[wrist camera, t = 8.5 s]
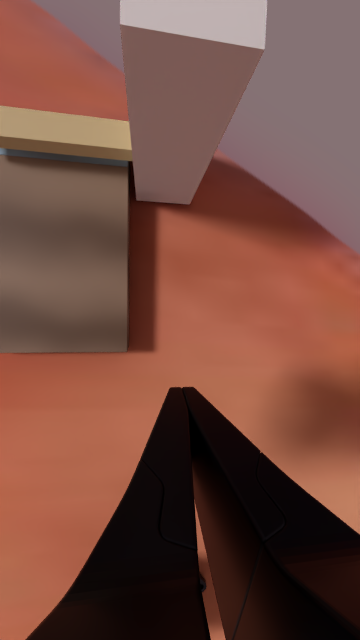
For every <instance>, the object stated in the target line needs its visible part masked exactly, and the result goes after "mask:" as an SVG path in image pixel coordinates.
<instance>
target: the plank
mask: <svg viewBox="0 0 360 640" xmlns="http://www.w3.org/2000/svg"><path fill="white" fill-rule="evenodd" d="M129 220H130V161H125V160H115V159H105V158H95V157H85V156H75V155H65V154H55V153H45V152H35V151H25V150H15V149H5V148H0V353H39V352H127V350H128V347H129Z"/></svg>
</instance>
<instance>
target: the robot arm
mask: <svg viewBox="0 0 360 640" xmlns="http://www.w3.org/2000/svg"><path fill="white" fill-rule="evenodd" d="M194 500H195V503H194ZM195 504H196V508H197V513H198V517H199V522H200V526H201V531H202V535H203V540H204V544H205V549H206V553H207V558H208V562H209V567H210V571H211V576H212V580H213V585H214V589H215V594H216V598H217V603H218V607H219V611H220V616H221V620H222V625H223V629H224V634H225V638H226V640H360V534H358V533H357V532H356V531H354V530H353V529H352V528H351V527H349V526H348V525H347V524H346V523H345V522H343V521H342V520H341V519H340V518H338V517H337V516H336V515H335V514H333V513H332V512H331V511H330V510H328V509H327V508H326V507H325V506H323V505H322V504H321V503H320V502H319V501H317V500H316V499H315V498H314V497H312V496H311V495H310V494H309V493H307V492H306V491H305V490H304V489H303V488H301V487H300V486H299V485H298V484H297V483H295V482H294V481H293V480H292V479H291V478H289V477H288V476H287V475H286V474H285V473H284V472H283V471H282V470H281V469H279V468H278V467H277V466H276V465H275V464H274V463H273V462H272V461H271V460H270V459H269V458H268V457H267V456H265V455H264V454H263V453H262V452H261V453H260V450H259V449H258V448H257V447H256V446H255V445H254V444H253V443H252V442H251V441H250V440H249V439H248V438H246V437H245V436H244V435H243V434H242V433H241V432H240V431H239V430H238V429H237V428H236V427H235V426H234V425H233V424H232V423H231V422H230V421H229V420H228V419H227V418H226V417H224V416H223V415H222V414H221V413H220V412H219V411H218V410H217V409H216V408H215V407H214V406H213V405H212V404H211V403H210V402H209V401H208V400H207V399H206V398H205V397H204V396H203V395H201V394H200V393H199V392H198V391H197V390H196V389H195V388H194V387H183V388H181V387H171V388H170V389H169V391H168V393H167V396H166V398H165V401H164V403H163V405H162V408H161V410H160V413H159V415H158V417H157V420H156V422H155V425H154V427H153V430H152V432H151V434H150V437H149V439H148V442H147V444H146V447H145V449H144V451H143V454H142V456H141V459H140V461H139V463H138V466H137V468H136V470H135V473H134V475H133V477H132V479H131V482H130V484H129V486H128V488H127V490H126V492H125V494H124V496H123V498H122V500H121V501H120V503H119V505H118V507H117V509H116V511H115V513H114V514H113V516H112V518H111V519H110V521H109V523H108V525H107V526H106V528H105V530H104V532H103V533H102V535H101V537H100V539H99V540H98V542H97V544H96V546H95V547H94V549H93V551H92V553H91V554H90V556H89V558H88V560H87V561H86V563H85V565H84V566H83V568H82V570H81V571H80V573H79V575H78V576H77V578H76V579H75V581H74V583H73V584H72V586H71V587H70V589H69V590H68V591H67V593H66V594H65V596H64V597H63V598H62V600H61V601H60V602H59V603H58V605H57V606H56V607H55V608H54V609H53V610H52V611H51V613H50V614H49V615H48V616H47V617H46V618H45V619H44V620H43V621H42V622H41V623H40V624H39V626H38V627H37V628H36V629H35V630H34V631H33V632H32V633H31V634H30V635H29V636H28V637H27V639H26V640H211V639H210V633H209V628H208V623H207V618H206V612H205V607H204V602H203V597H202V592H203V591H204V590H205V589H206V581H205V579H204V577H203V576H202V575H201V574H200V573H199V565H198V554H197V550H198V549H197V534H196V519H195Z"/></svg>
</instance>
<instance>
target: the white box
mask: <svg viewBox="0 0 360 640" xmlns="http://www.w3.org/2000/svg"><path fill="white" fill-rule="evenodd" d="M266 13H267V0H120V29H121V39H122V49H123V61H124V72H125V83H126V94H127V104H128V115H129V121H121V120H113V119H105V118H97V117H88V116H80V115H72V114H64V113H56V112H48V111H39V110H31V109H23V108H15V107H7V106H0V148H5V149H15V150H25V151H35V152H45V153H55V154H65V155H75V156H85V157H95V158H105V159H115V160H125V161H133V169H134V180H135V191H136V200H138V201H150V202H163V203H176V204H189V205H190V203H191V201H192V199H193V197H194V195H195V192H196V190H197V188H198V186H199V184H200V182H201V180H202V178H203V176H204V174H205V172H206V170H207V168H208V166H209V164H210V161H211V159H212V157H213V155H214V153H215V151H216V149H217V147H218V145H219V143H220V141H221V139H222V137H223V135H224V133H225V130H226V128H227V126H228V124H229V122H230V120H231V118H232V116H233V114H234V112H235V110H236V108H237V106H238V104H239V102H240V99H241V97H242V95H243V93H244V91H245V89H246V87H247V85H248V83H249V81H250V79H251V77H252V75H253V73H254V71H255V69H256V66H257V64H258V62H259V60H260V58H261V56H262V54H263V52H264V50H265V34H266Z"/></svg>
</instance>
